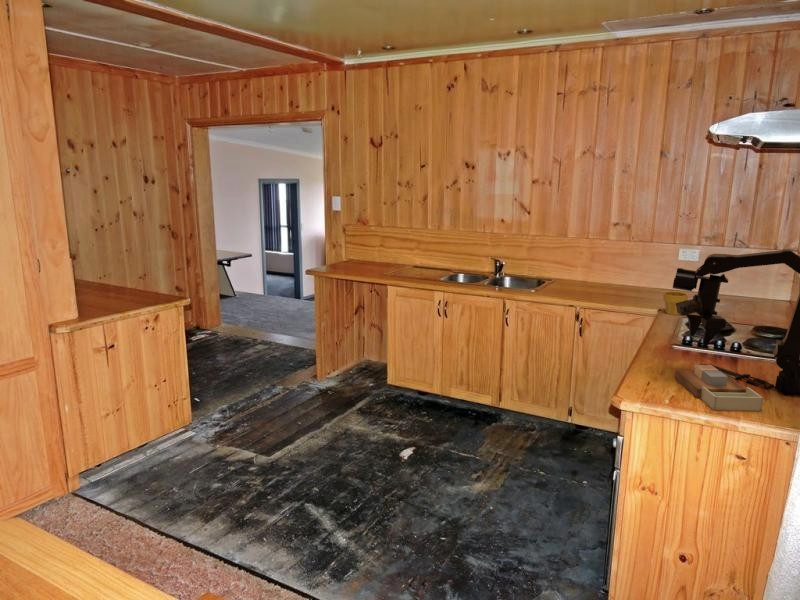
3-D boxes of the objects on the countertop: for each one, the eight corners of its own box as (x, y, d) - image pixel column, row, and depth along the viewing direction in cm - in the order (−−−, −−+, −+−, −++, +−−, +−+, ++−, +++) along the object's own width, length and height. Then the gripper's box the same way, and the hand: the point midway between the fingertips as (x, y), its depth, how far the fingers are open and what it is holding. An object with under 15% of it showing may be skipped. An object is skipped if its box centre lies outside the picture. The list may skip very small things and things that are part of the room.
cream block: (710, 373, 176) (711, 365, 175) (717, 379, 171) (718, 370, 170) (694, 373, 176) (695, 364, 176) (701, 379, 171) (702, 370, 171)
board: (719, 379, 179) (720, 370, 178) (745, 399, 163) (746, 389, 163) (674, 378, 180) (675, 370, 180) (696, 398, 165) (697, 388, 164)
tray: (746, 399, 163) (748, 387, 162) (761, 411, 155) (763, 397, 154) (700, 399, 164) (702, 386, 163) (713, 410, 156) (715, 397, 155)
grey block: (718, 380, 170) (719, 370, 170) (726, 386, 166) (727, 376, 165) (701, 379, 171) (702, 370, 170) (709, 385, 166) (710, 376, 165)
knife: (695, 365, 194) (696, 362, 193) (710, 363, 195) (710, 360, 195) (761, 391, 170) (761, 387, 170) (777, 388, 172) (777, 384, 172)
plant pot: (665, 316, 259) (667, 295, 257) (658, 310, 269) (660, 291, 267) (689, 316, 258) (691, 296, 255) (681, 311, 268) (683, 291, 265)
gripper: (670, 285, 184) (661, 329, 188) (694, 299, 166) (684, 348, 170) (704, 287, 183) (694, 332, 187) (733, 302, 165) (721, 351, 169)
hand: (698, 340), depth 178 cm, fingers open, 9 cm apart
